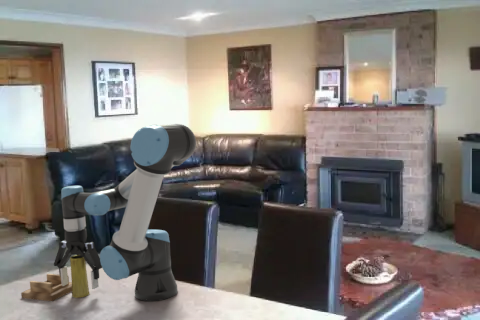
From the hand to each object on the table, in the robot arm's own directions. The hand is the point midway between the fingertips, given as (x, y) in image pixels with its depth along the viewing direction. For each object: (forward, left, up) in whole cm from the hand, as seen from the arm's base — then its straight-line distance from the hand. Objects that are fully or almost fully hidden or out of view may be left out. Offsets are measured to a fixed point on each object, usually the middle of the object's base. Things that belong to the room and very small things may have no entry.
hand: (80, 286), depth 183 cm
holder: (+13, +1, -3) cm, 13 cm away
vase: (0, 0, -3) cm, 3 cm away
